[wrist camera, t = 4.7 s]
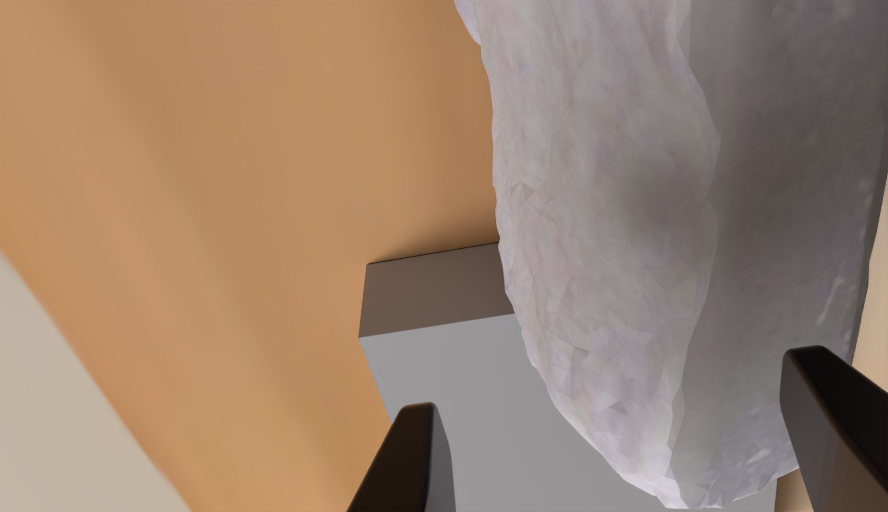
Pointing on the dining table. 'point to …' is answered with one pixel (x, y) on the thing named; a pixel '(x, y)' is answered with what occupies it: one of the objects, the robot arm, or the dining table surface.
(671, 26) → the stone block
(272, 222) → the dining table surface
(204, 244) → the dining table surface
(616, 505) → the gray plinth
